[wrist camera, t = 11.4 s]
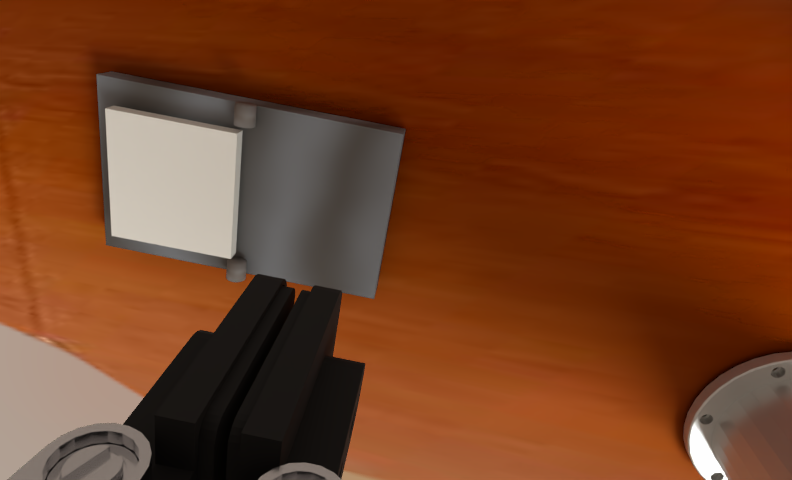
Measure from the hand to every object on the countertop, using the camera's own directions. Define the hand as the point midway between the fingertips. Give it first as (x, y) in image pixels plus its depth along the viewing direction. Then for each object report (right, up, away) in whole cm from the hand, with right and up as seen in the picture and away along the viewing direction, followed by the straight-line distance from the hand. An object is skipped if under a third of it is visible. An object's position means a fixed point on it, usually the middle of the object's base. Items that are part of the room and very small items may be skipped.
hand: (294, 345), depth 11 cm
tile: (-11, +5, +21) cm, 25 cm away
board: (-7, +6, +24) cm, 25 cm away
